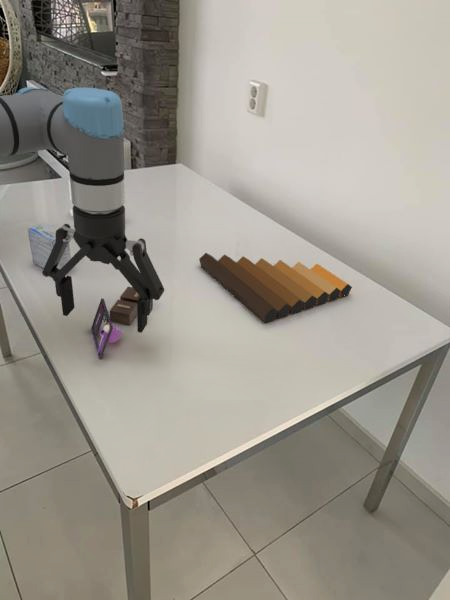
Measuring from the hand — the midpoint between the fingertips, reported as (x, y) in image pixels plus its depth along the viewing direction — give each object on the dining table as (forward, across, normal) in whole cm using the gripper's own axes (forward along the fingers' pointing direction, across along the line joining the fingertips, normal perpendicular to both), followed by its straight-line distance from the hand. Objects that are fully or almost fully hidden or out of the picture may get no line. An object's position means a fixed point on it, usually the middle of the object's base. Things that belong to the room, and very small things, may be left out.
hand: (105, 319), depth 78 cm
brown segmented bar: (+5, 0, -10) cm, 11 cm away
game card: (+5, 0, 0) cm, 5 cm away
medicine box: (+5, +22, -20) cm, 30 cm away
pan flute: (+5, -26, -32) cm, 42 cm away
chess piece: (+5, +30, -48) cm, 57 cm away
